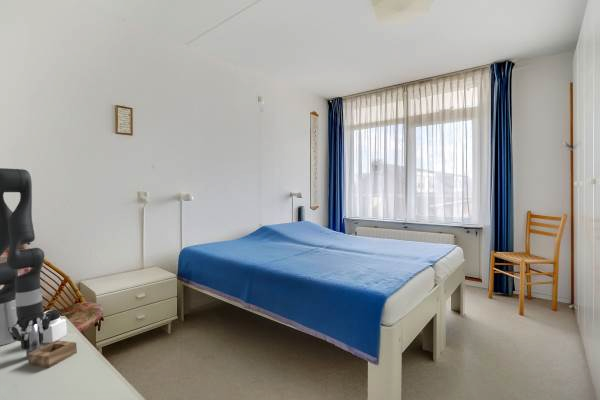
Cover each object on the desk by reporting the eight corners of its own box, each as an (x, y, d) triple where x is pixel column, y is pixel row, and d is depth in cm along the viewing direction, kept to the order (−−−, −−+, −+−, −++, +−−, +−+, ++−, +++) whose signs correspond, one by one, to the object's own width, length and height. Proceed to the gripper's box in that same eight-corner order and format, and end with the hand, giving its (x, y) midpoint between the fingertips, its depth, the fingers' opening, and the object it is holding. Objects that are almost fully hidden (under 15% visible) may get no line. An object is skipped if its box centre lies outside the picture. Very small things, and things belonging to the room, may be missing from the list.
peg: (23, 358, 115) (21, 326, 114) (35, 352, 118) (33, 322, 118) (31, 359, 113) (29, 327, 113) (43, 353, 117) (40, 322, 117)
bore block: (28, 364, 110) (27, 353, 110) (57, 350, 119) (56, 340, 119) (49, 367, 107) (48, 356, 107) (76, 352, 117) (76, 342, 117)
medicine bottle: (67, 335, 133) (65, 307, 132) (52, 343, 125) (50, 314, 125) (52, 334, 133) (50, 307, 133) (36, 343, 126) (34, 314, 126)
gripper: (42, 294, 123) (45, 336, 124) (-1, 308, 109) (3, 355, 110) (56, 295, 121) (59, 338, 122) (14, 309, 107) (18, 357, 108)
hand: (32, 345), depth 116 cm, fingers closed on peg, 4 cm apart
